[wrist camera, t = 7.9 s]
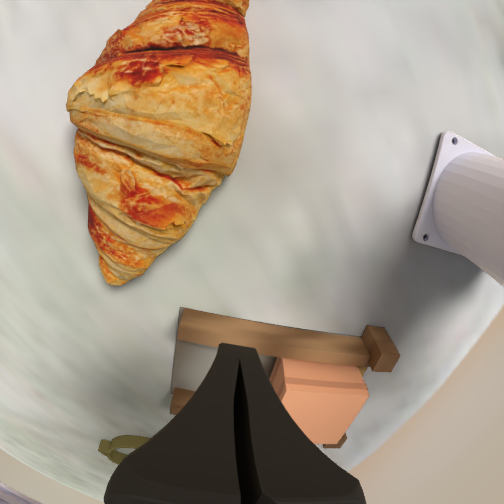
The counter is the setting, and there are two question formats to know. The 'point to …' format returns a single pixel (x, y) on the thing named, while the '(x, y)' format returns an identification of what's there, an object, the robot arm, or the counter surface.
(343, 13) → the counter surface
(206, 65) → the croissant
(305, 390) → the peach rectangular block
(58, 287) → the counter surface
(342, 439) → the brown wooden frame
